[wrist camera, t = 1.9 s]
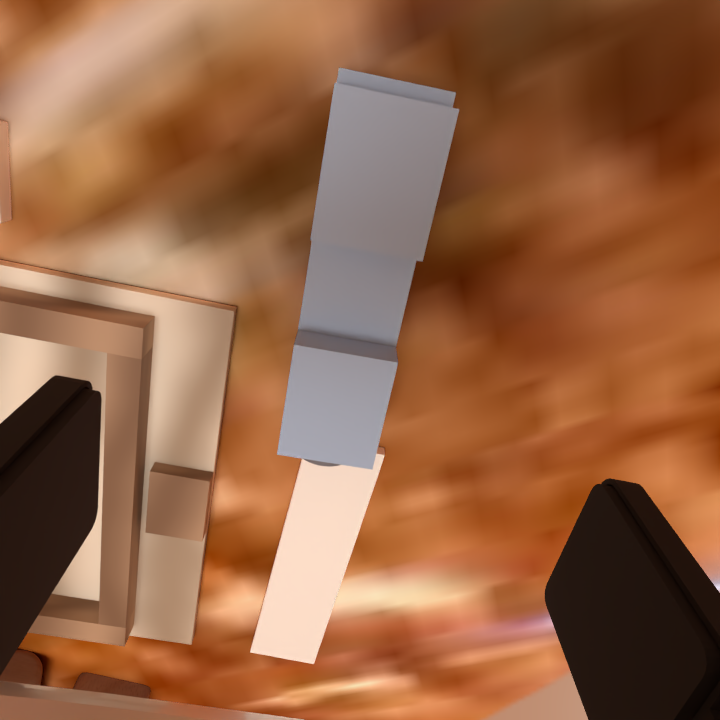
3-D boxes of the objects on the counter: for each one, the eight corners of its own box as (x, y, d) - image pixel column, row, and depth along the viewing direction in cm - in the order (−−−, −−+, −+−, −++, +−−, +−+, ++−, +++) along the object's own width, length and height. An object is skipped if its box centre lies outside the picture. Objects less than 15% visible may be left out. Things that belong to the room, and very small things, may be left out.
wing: (383, 442, 30) (384, 455, 29) (315, 647, 36) (313, 664, 35) (310, 425, 30) (307, 437, 28) (253, 635, 36) (250, 652, 35)
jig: (236, 306, 26) (227, 323, 24) (194, 636, 35) (184, 666, 33) (-128, 234, 25) (-168, 245, 23) (-76, 595, 34) (-102, 625, 32)
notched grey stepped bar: (342, 72, 22) (337, 64, 17) (440, 93, 23) (463, 92, 18) (287, 420, 29) (271, 487, 24) (363, 433, 29) (364, 501, 24)
